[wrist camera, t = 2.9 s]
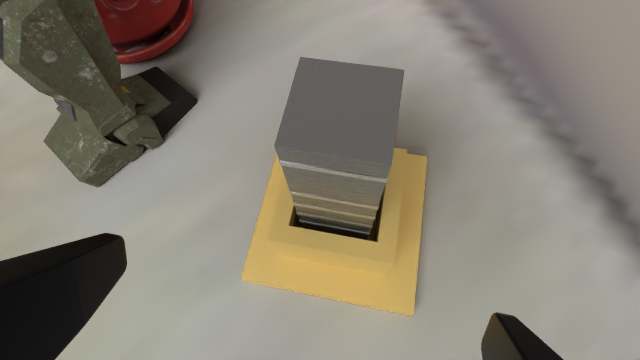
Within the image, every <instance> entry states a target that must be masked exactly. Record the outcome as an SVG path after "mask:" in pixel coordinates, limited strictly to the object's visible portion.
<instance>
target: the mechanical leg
mask: <svg viewBox="0 0 640 360" xmlns="http://www.w3.org/2000/svg"><path fill="white" fill-rule="evenodd" d="M0 59H1V60H2V61H3V62H4V64H5V65H7V66H8V67H9V68H10V69H12V70H13V71H14V72H15V73H17V74H18V75H19V76H20V77H22V78H23V79H24V80H25V81H26V82H28V83H29V84H30V85H31V86H33V87H34V88H35V89H36V90H38V91H39V92H41V93H44V94H46V95H48V96H51V97H53V98H54V101H55V102H56V103H57V104H58V105H59V106H58V107H57V110H58V111H59V112H60V113H61V115H60V116H59V118H58V119H57V121H56V123H55V124H54V126H53V127H52V129H51V130H50V132H49V133H48V135H47V136H46V138H45V139H44V142H45V144H46V145H47V146H48V147H49V148H50V149H51V150H52V151H53V152H54V154H55V155H56V156H57V157H58V158H59V159H60V160H61V161H62V162H63V164H64V165H65V166H66V167H67V168H68V169H69V170H70V171H71V172H72V173H73V175H74V176H75V177H76V178H77V179H78V180H79V181H81V182H84V183H87V184H90V185H93V186H95V187H99V186H100V185H102V184H103V183H104V182H105V181H107V180H108V179H109V178H110V177H111V176H113V175H114V174H115V173H116V172H117V171H119V170H120V169H121V168H122V167H124V166H125V165H126V164H127V163H128V162H130V161H131V162H133V161H134V160H135V159H136V158H137V157H139V156H140V155H141V154H142V152H143V149H144V148H145V147H147V148H149V149H152V150H153V149H154V148H155V147H157V146H158V145H159V144H161V143H162V142H163V140H162V137H163V136H164V135H165V134H166V133H167V132H168V131H169V130H170V129H171V128H172V127H173V126H174V125H175V124H176V123H177V122H178V121H179V120H180V119H181V118H182V117H183V116H184V115H185V114H186V113H187V112H188V111H189V110H190V109H191V108H192V107H193V106H194V105H195V104H196V103H197V99H196V98H195V97H193V96H192V95H191V94H190V93H189V92H188V91H186V90H185V89H184V88H183V87H181V86H180V85H179V84H178V83H177V82H175V81H174V80H173V79H172V78H170V77H169V76H168V75H167V74H166V73H164V72H163V71H162V70H161V69H159V68H158V67H153V68H151V69H149V70H146V71H144V72H142V73H140V74H137V75H134V76H131V77H127V78H124V79H121V67H120V64H119V61H118V59H117V57H116V54H115V52H114V49H113V47H112V45H111V42H110V40H109V38H108V35H107V33H106V30H105V28H104V25H103V23H102V20H101V18H100V15H99V13H98V10H97V8H96V5H95V3H94V0H0ZM161 136H162V137H161Z"/></svg>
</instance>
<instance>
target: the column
mask: <svg viewBox="0 0 640 360" xmlns="http://www.w3.org/2000/svg"><path fill="white" fill-rule="evenodd" d="M403 76H404V70H401V69H393V68H385V67H377V66H369V65H361V64H352V63H344V62H336V61H328V60H320V59H312V58H304V57H300V60H299V63H298V67H297V70H296V73H295V77H294V80H293V84H292V87H291V91H290V94H289V97H288V101H287V104H286V108H285V111H284V115H283V118H282V121H281V125H280V128H279V132H278V135H277V139H276V142H275V145H274V146H275V149H276V152H277V155H278V158H279V164H280V165H281V167H282V170H283V173H284V176H285V179H286V181H287V184H288V187H289V193H290V194H291V196H292V199H293V205H295V208H296V211H297V212H296V213H297V215H298V217H299V222H300V223H301V225H302V228H304V229H309V230H315V231H320V232H326V233H331V234H336V235H342V236H347V237H352V238H358V239H363V240H368V236H369V235H370V230H371V228H372V225H373V221H374V220H375V216H376V211H377V209H378V208H379V202H380V199H381V196H382V193H383V190H384V187H385V184H386V183H387V181H388V175H389V171H390V168H391V165H392V159H393V151H394V144H395V136H396V129H397V121H398V114H399V106H400V99H401V91H402V84H403Z"/></svg>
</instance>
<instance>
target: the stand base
mask: <svg viewBox="0 0 640 360" xmlns="http://www.w3.org/2000/svg"><path fill="white" fill-rule="evenodd" d="M426 169H427V156H421V155H414V154H408V153H407V149H401V148H395V147H394V151H393V159H392V165H391V168H390V171H389V175H388V181H387V183H386V184H385V187H384V190H383V193H382V196H381V199H380V202H379V208H378V209H377V211H376V216H375V220H374V221H373V225H372V228H371V230H370V235H369V236H368V240H363V239H358V238H352V237H347V236H342V235H336V234H331V233H326V232H320V231H315V230H309V229H304V228H302V225H301V223H300V222H299V217H298V215H297V213H296V212H297V211H296V208H295V205H293V199H292V196H291V194H290V193H289V187H288V184H287V181H286V179H285V176H284V173H283V170H282V167H281V165H280V164H279V158H278V155H277V154H276V158H275V161H274V165H273V168H272V172H271V175H270V179H269V182H268V186H267V189H266V193H265V196H264V199H263V203H262V206H261V210H260V213H259V217H258V220H257V224H256V227H255V231H254V234H253V238H252V241H251V245H250V248H249V252H248V255H247V259H246V262H245V266H244V269H243V273H242V276H241V279H242V280H243V281H246V282H251V283H256V284H261V285H265V286H270V287H275V288H280V289H284V290H289V291H294V292H299V293H303V294H308V295H313V296H318V297H322V298H327V299H332V300H337V301H341V302H346V303H351V304H356V305H360V306H365V307H370V308H375V309H379V310H384V311H389V312H394V313H398V314H403V315H408V316H413V315H414V305H415V293H416V282H417V271H418V259H419V248H420V237H421V225H422V214H423V203H424V191H425V180H426Z"/></svg>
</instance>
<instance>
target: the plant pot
mask: <svg viewBox="0 0 640 360" xmlns="http://www.w3.org/2000/svg"><path fill="white" fill-rule="evenodd" d="M94 3H95V5H96V8H97V10H98V13H99V15H100V18H101V20H102V23H103V25H104V28H105V30H106V33H107V35H108V38H109V40H110V42H111V45H112V47H113V49H114V52H115V54H116V57H117V59H118V61H119V64H127V63H135V62H140V61H144V60H147V59H150V58H153V57H155V56H157V55H159V54H161V53H163V52H165V51H166V50H168V49H169V48H171V47H172V46H173V45H174V44H176V43H177V42H178V41H179V40H180V39H181V37H182V36H183V35H184V33H185V32H186V31H187V29H188V27H189V25H190V23H191V20H192V17H193V13H194V2H193V0H94Z"/></svg>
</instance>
